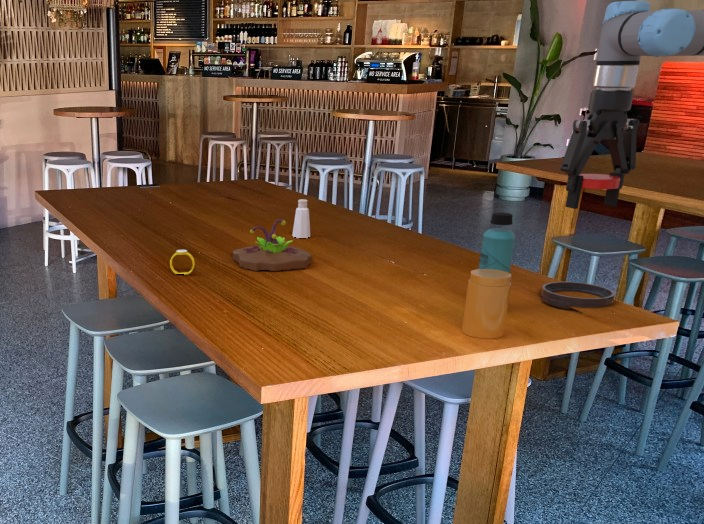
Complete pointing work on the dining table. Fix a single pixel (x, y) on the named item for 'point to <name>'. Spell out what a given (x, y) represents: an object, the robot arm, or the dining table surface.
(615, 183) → the cap
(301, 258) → the plant
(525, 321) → the dining table surface
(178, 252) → the gold ring with gem
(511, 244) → the beverage bottle
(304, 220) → the pepper shaker
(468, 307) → the jar
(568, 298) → the dark grey ring
